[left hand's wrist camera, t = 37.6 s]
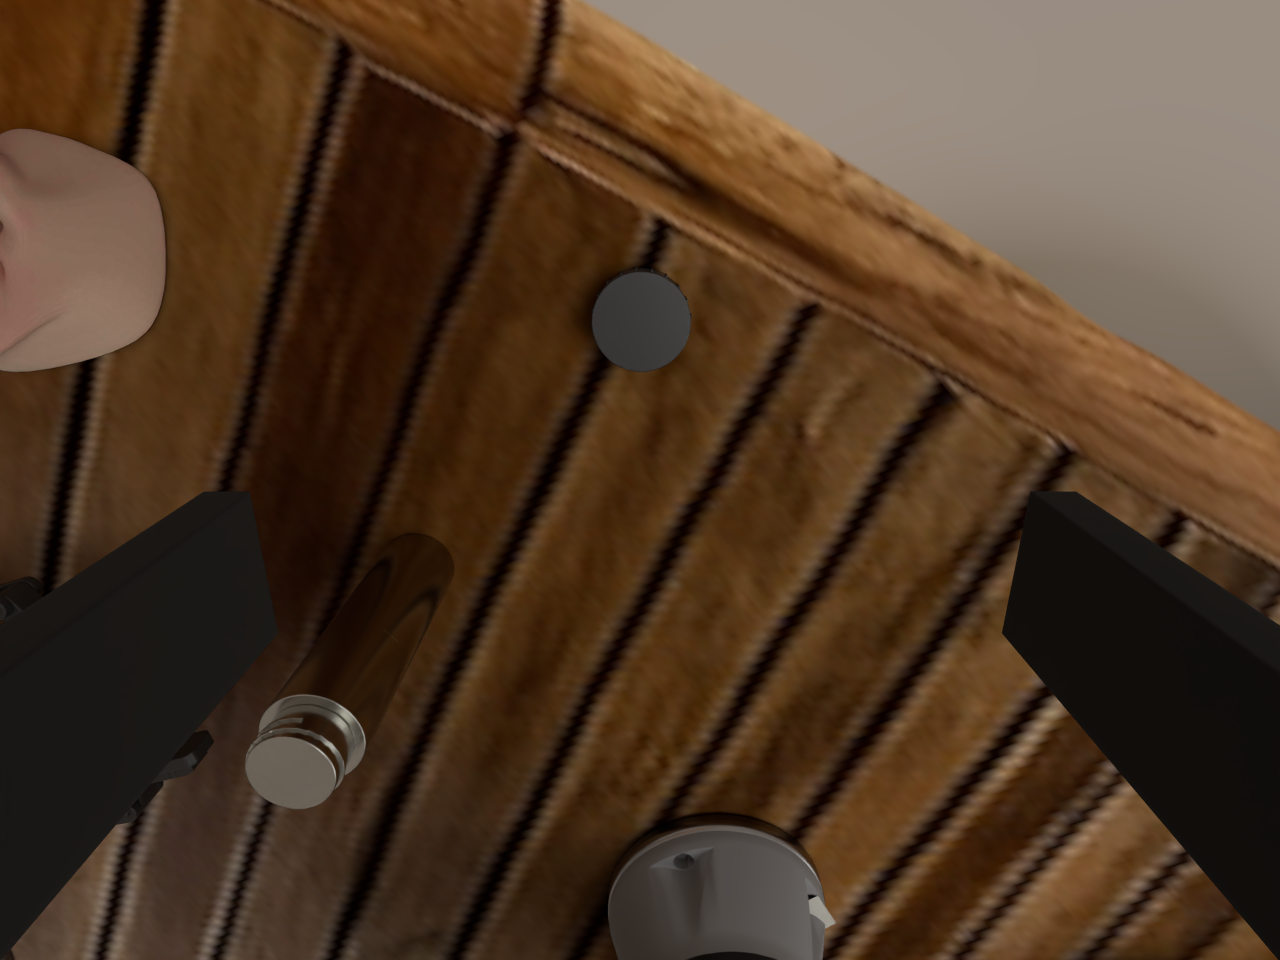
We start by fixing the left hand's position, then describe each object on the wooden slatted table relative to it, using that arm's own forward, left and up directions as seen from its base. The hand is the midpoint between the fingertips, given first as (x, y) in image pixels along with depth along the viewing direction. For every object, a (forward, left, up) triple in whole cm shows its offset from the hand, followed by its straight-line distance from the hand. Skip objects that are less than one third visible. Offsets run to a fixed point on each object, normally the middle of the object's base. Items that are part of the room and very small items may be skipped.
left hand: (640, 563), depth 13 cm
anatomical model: (-9, +29, -28) cm, 41 cm away
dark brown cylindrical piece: (-18, +7, -28) cm, 34 cm away
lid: (0, 0, -26) cm, 26 cm away
